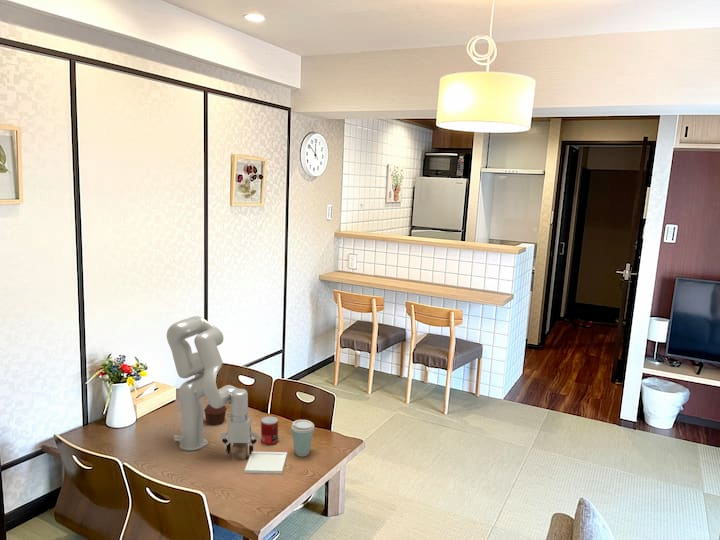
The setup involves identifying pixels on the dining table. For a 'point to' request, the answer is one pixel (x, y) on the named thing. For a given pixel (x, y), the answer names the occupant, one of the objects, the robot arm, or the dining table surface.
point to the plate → (266, 462)
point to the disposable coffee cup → (302, 436)
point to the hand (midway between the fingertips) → (239, 452)
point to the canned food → (269, 430)
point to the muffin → (215, 415)
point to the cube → (239, 451)
